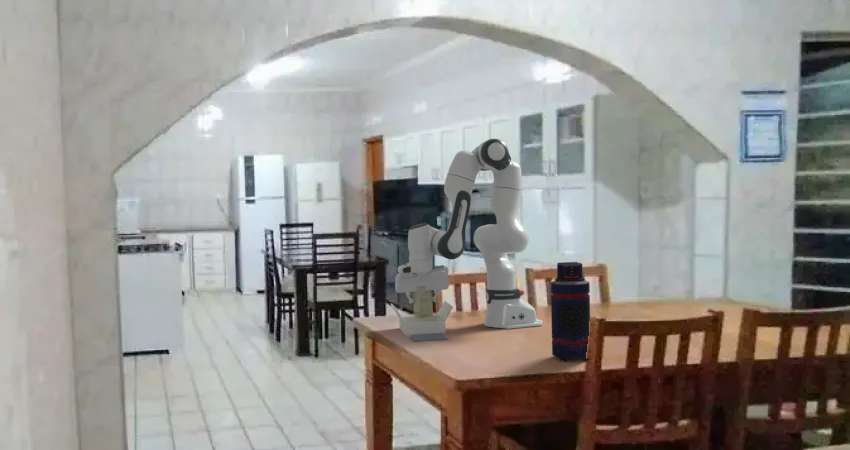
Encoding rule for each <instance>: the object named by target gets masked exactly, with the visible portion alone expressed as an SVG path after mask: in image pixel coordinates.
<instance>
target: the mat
mask: <svg viewBox="0 0 850 450" xmlns="http://www.w3.org/2000/svg"><path fill="white" fill-rule="evenodd" d="M409 337H410V338H411V340H412V341H413V342H414V343H415V342H429V341H430V342H431V341H432V342H433V341H445V340H446V341H447V340H448V337H447V335H445V333H432V334H415V335H409Z"/></svg>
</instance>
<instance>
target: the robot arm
mask: <svg viewBox="0 0 850 450" xmlns="http://www.w3.org/2000/svg"><path fill="white" fill-rule="evenodd" d="M451 161H452V162H451V163H450V165H449V168H448V171H447V174H446V177H445V182H444V188H443V191H444V194H445V196H446V197H447V198H448V200H449V201H450V203H451V206H452V207H451V208H452V209H451V214H450V219H449V223H448V227H447V229H446V231H445V230H442V229H438V228H435V227H433V226H431V225H429V223H425V222H422V223H417V224H413V225H412V226H411V227H410V228H409V229H408V234H407V235H408V236H407V246H408V247H407V249H408V252H409V256H408V262H407V263H404V264H402V265H399V266H397V272H398V273H397V274H396V276H395V280H394V281H395V283H394V287H395V288H394V289H395V291H396V293H397V294H404V293H405V296H406V297H407V298H408V301H409V305H414V299H413V298H411V293H413V292H417V286H426V291H433V293H434V295H433V296H432V303H437V297H438V295H439V293H440V292H439V291H445V290H448V289H449V285H450V284H449V278H448V276H449V269H448V268H449V267H448V266H446V265H443V264H442V265H433V256H438V257H442V258H445V259H447V260H456V259H459V257H461V256H462V254H463V253H464V251H465V248H466V242H465V241H466V240H465V234H466V228H467V223H468V218H469V213H470V208H471V204H472V202H471V201H472V195H473V194H472V193H473V189H474V185H475V182H476V179H477V175H478V174H479V173H480V171H481V172H482V171H483V172H484V171H485V172H487V171H491V173H492V175H493V182H492V188H491V189H492V190H491V197H490V209H491V211H492V212H493V213H494V215H495V219H496V223H495V224H490V223H488V224H485V225H482V226H481V225H480V226H479V227H477V228H476V229H475V231H474V233H473V244H474V245H475V246H476V248H477V249H478V251H479V252H480V254H481V256H482V258H483V261H484V265H485V268H486V279H487V280H486V282H487V283H486V284H487V288H486V292H485V299H486V300H485V301H486V314H485V319H484V323H483V325H484V326H485V327H490V328H498V329H499V328H501V329H507V330H508V329H509V330H510V329H519V328H528V327H529V328H530V327H539V326H543V324H544V323H543V321H542V319H539V318H537V313H536V310H535V308H534V307H533V306H532V304H530V303H528V301H526V300H524V298H522V296H524V295H525V290H523V289H519V288H517V282H516V280H517V275H516V268H515V266H514V265H513V264H512V262H511V261H510V259H509V256H508V254H509V255H513V254H514V255H515V254H519V253H522V252H524V251H525V250H526V249H527V247H528V244H529V234H528V232H527V231H526V229H525V227H523V224H522V221H521V216H520V202H521V194H522V192H521V191H522V180H523V179H522V168H521V166H520V164H519V163H518V162H515V161H512V157H511V155H510V152H509V149H508V147H507V144H506V143H505V141H503V140H502V139H499V138H490V139H487V140H485V141H483V142H481V143H480V144H479V145H478V146H476V148H474V150H472V151H471V150H460V151H458V152H457V153H456V154H455V155H454V157H453V159H452V160H451Z"/></svg>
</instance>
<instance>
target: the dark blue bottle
mask: <svg viewBox="0 0 850 450" xmlns="http://www.w3.org/2000/svg"><path fill="white" fill-rule="evenodd" d="M556 267H557V268H556V271H557V272H556V275H557V276H556V277H555V279H554V280H553V281H551V282H550V293H551V294H550V304H551V305H550V306H551V307H550V310H551V311H550V312H551V315H550V316H551V339H552V340H551V352H552V353H551V354H552V356H554V357H555V358H558V359H559V361H560V362H563V363H565V362H567V361H568V360H572V359H573V360H574V359H575V360H578V359H583V361H585V360H586V352H587V344H588V336H589V321H590V322H591V300H590V299H591V296H590V294H589V293H590V289H591V288H590V284H591V283H590V281H588V280H587V279H585V272H584V271H583V270H584V269H583V263H581V262H578V261H569V262H568V261H566V262H557V265H556ZM586 361H587V360H586Z"/></svg>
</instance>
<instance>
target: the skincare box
mask: <svg viewBox="0 0 850 450" xmlns="http://www.w3.org/2000/svg"><path fill="white" fill-rule="evenodd" d="M432 297H433V292H432V291H426V286H417V292H412V299H414V304H413V316H414V317H415V318H426V317H432V316H433V315H434V311H433V310H434V309H433V307H434V306H433V305H434V304H433V302H432Z"/></svg>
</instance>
